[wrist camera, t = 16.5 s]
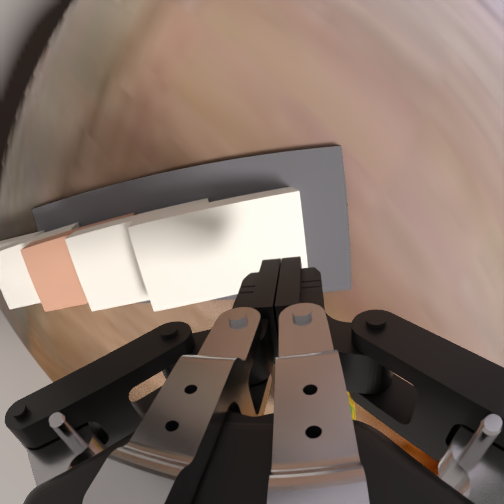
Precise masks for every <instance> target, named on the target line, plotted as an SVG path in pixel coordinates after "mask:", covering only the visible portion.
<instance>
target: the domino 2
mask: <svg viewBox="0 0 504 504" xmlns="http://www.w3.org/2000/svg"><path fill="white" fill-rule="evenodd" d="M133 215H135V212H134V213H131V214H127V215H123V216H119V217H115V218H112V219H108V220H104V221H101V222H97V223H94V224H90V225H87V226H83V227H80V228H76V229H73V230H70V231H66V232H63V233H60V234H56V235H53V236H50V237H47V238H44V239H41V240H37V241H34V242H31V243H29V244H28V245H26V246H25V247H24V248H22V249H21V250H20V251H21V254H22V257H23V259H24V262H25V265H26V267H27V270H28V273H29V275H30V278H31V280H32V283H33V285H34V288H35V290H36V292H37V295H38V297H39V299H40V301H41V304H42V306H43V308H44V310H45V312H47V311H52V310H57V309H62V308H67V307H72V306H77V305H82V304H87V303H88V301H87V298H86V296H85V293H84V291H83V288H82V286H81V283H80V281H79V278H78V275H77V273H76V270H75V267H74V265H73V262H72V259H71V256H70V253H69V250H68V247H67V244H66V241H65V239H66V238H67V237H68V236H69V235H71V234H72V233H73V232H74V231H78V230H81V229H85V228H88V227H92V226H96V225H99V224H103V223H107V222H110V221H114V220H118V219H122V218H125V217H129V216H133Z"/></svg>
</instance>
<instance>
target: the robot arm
mask: <svg viewBox="0 0 504 504" xmlns="http://www.w3.org/2000/svg"><path fill="white" fill-rule="evenodd" d="M273 364H275V394H274V413H272V414H267V415H264V411H265V407H266V403H267V400H268V396H269V392H270V388H271V384H272V375H271V372H272V366H273ZM161 371H162V372H163V374H164V376H165V378H166V381H165V383H164V385H163V386H161V387H160V388H158V389H156V390H155V391H153V392H151V393H150V394H148V395H146V396H145V397H143V398H141V399H140V400H138V401H135V402H130V400H129V392H130V391H131V389H132V388H133V387H135V386H137V385H138V384H140V383H142V382H144V381H145V380H147V379H149V378H150V377H152V376H154V375H156V374H157V373H159V372H161ZM393 372H394V373H395V374H397V375H399V376H400V377H402V378H404V379H405V380H407V381H408V382H410V383H411V384H413V385H414V386H413V385H411V384H409V383H408V382H406V381H404V380H403V379H401V378H400V377H398V376H396V375H395V374H393ZM347 391H349V395H350V397H351V398H352V400H354V401H355V402H356V403H357V404H359V405H360V406H361V407H363V408H364V409H365V410H367V411H368V412H369V413H371V414H372V415H373V416H375V417H376V418H377V419H379V420H380V421H381V422H383V423H384V424H385V425H387V426H388V427H390V428H391V429H392V430H394V431H395V432H396V433H398V434H399V435H401V436H402V437H403V438H405V439H406V440H408V441H409V442H410V443H412V444H413V445H415V446H416V447H418V448H419V449H420V450H422V451H423V452H425V453H426V454H428V455H429V456H431V457H432V458H434V459H435V460H436V461H438V462H439V466H438V472H439V476H440V478H439V477H438V476H437V475H435V474H434V473H433V472H431V471H430V470H429V469H427V468H426V467H425V466H423V465H422V464H421V463H419V462H418V461H417V460H416V459H414V458H413V457H412V456H410V455H409V454H408V453H407V452H405V451H404V450H403V449H402V448H400V447H399V446H398V445H397V444H395V443H394V442H393V441H392V440H390V439H389V438H388V437H387V436H385V435H384V434H383V433H381V432H380V431H378V430H377V429H375V428H373V427H372V426H370V425H367V424H365V423H363V422H360V421H357V420H353V419H352V415H351V409H350V404H349V399H348V395H347ZM5 424H6V426H7V427H8V428H9V429H10V430H11V432H12V433H13V434H14V435H15V436H16V437H17V438H18V439H19V441H20V442H21V443H22V445H23V446H24V447H25V448H26V449H27V452H28V456H29V460H30V464H31V468H32V471H33V475H34V478H35V481H36V485H37V487H36V488H35V489H33V490H32V491H31V492H30V493H29V495H28V496H27V498H26V499H25V501H24V503H23V504H504V368H503V367H501V366H499V365H497V364H495V363H493V362H491V361H489V360H487V359H485V358H483V357H481V356H479V355H477V354H475V353H473V352H471V351H469V350H466V349H464V348H462V347H460V346H458V345H456V344H454V343H452V342H450V341H448V340H446V339H444V338H442V337H440V336H438V335H436V334H434V333H432V332H430V331H428V330H426V329H423V328H421V327H419V326H417V325H415V324H413V323H411V322H409V321H407V320H405V319H403V318H401V317H399V316H397V315H395V314H393V313H390V312H388V311H384V310H368V311H365V312H362V313H360V314H358V315H357V316H356V317H355V318H354V319H353V321H352V323H348V322H341V321H337V320H335V319H333V318H331V317H329V316H328V315H327V314H326V312H325V309H324V299H323V289H322V280H321V273H320V272H319V271H318V270H317V269H316V268H315V267H310V268H302V264H301V257H300V256H298V257H287V258H282V260H281V258H277V259H267V260H262V263H261V267H260V270H259V272H255V273H250V274H249V275H247V276H246V277H245V278H244V279H243V281H242V283H241V286H240V289H239V292H238V294H237V297H236V300H235V302H234V305H233V308H232V309H230V310H228V311H226V312H224V313H222V314H221V315H220V316H219V317H218V318H217V320H216V322H215V323H214V325H213V327H212V329H210V330H206V331H201V332H197V333H192V331H191V328H190V326H189V325H188V324H186V323H184V322H170V323H166V324H163V325H161V326H159V327H157V328H155V329H154V330H152V331H150V332H148V333H146V334H144V335H142V336H141V337H139V338H137V339H135V340H133V341H131V342H129V343H128V344H126V345H124V346H122V347H120V348H118V349H116V350H114V351H113V352H111V353H109V354H107V355H105V356H103V357H101V358H99V359H97V360H96V361H94V362H92V363H90V364H88V365H86V366H84V367H82V368H80V369H78V370H77V371H75V372H73V373H71V374H69V375H67V376H65V377H63V378H61V379H59V380H57V381H55V382H53V383H51V384H49V385H48V386H46V387H44V388H42V389H40V390H38V391H36V392H34V393H32V394H30V395H28V396H26V397H24V398H22V399H20V400H18V401H17V402H15V403H14V404H13V405H12V406H11V407H10V408H9V409H8V411H7V413H6V416H5Z"/></svg>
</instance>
